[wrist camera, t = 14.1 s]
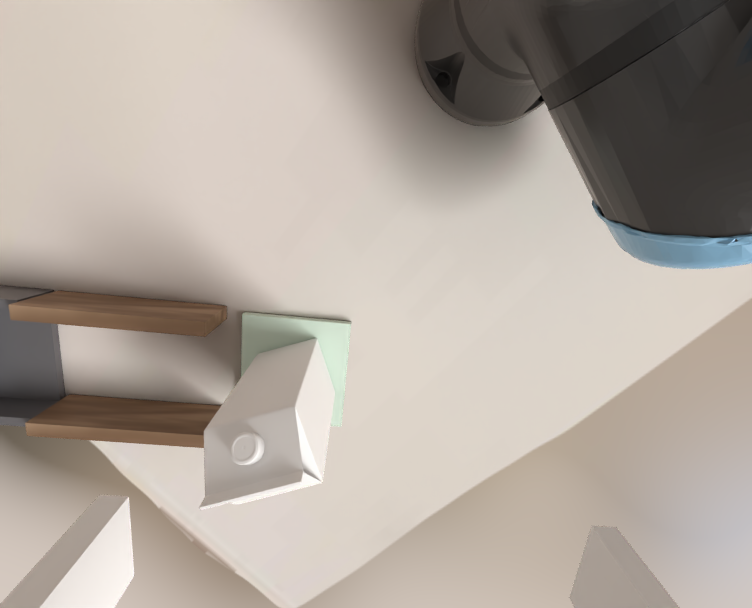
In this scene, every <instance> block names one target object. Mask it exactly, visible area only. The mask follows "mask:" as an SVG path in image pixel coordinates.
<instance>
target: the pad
mask: <svg viewBox="0 0 752 608" xmlns="http://www.w3.org/2000/svg"><path fill="white" fill-rule="evenodd" d="M350 330H351V321H340V320H329V319H318V318H307V317H296V316H285V315H274V314H263V313H252V312H244V313H243V314H242V347H241V377H242V376H243V374H244V373H245V371H246V370H247V368H248V367H249V366H250V364H251V363H252V361H253V360H254V358H255V357H256V356H257V354H259V353H262V352H266V351H270V350H273V349H277V348H281V347H285V346H288V345H292V344H296V343H299V342H303V341H307V340H310V339H315V338H317V339H318V342H319V345H320V348H321V351H322V354H323V357H324V360H325V363H326V366H327V369H328V372H329V375H330V378H331V381H332V384H333V387H334V390H335V398H334V405H333V412H332V419H331V426H339V427H341V425H342V415H343V404H344V394H345V383H346V372H347V362H348V351H349V341H350Z"/></svg>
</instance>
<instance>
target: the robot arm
mask: <svg viewBox="0 0 752 608" xmlns="http://www.w3.org/2000/svg"><path fill="white" fill-rule="evenodd" d="M415 55H416V61H417V66H418V70H419V73H420V76H421V78H422V81H423V83H424V85H425V87H426V89H427V91H428V92H429V94H430V95H431V97H432V98H433V99H434V101H435V102H436V103H437V104H438V105H439V106H440V107H441V108H442V109H443V110H444V111H446V112H447V113H448V114H450V115H451V116H453V117H454V118H456V119H458V120H460V121H463V122H465V123H468V124H472V125H477V126H497V125H503V124H507V123H510V122H513V121H515V120H517V119H519V118H521V117H523V116H525V115H527V114H529V113H530V112H532V111H534V110H535V109H537V108H538V107H540V106H541V105H542V104H543V103H546V105H547V107H548V111H549V113H550V115H551V117H552V119H553V121H554V123H555V125H556V127H557V129H558V131H559V133H560V135H561V137H562V139H563V141H564V143H565V145H566V147H567V149H568V151H569V153H570V155H571V157H572V159H573V161H574V163H575V165H576V167H577V169H578V171H579V173H580V175H581V177H582V179H583V181H584V183H585V185H586V187H587V189H588V191H589V193H590V195H591V197H592V199H593V201H592V205H593V207H594V210H595V212H596V213H597V215H598V216H599V217H600V218H601V219H602V220H603V221H604V222H605V223H606V225H607V226H608V228H609V230H610V232H611V233H612V235H613V237H614V239H615V240H616V242H617V243H618V245H619V246H620V247H621V248H622V249H623V250H624V251H626V252H628V253H629V254H631V255H632V256H633V257H635V258H637V259H638V260H640V261H643V262H646V263H649V264H653V265H657V266H662V267H669V268H678V269H711V268H724V267H732V266H739V265H745V264H750V263H752V0H423V1H422V4H421V7H420V11H419V14H418V18H417V22H416V29H415ZM133 577H134V565H133V550H132V537H131V521H130V507H129V497H128V496H112V495H99V496H98V497H97V498H96V499H95V500H94V501H93V503H92V504H91V505H90V506H89V507H88V508H87V509H86V510H85V511H84V512H83V514H82V515H81V516H80V517H79V518H78V519H77V520H76V522H75V523H73V525H72V526H71V527H70V528H69V529H68V530H67V531H66V532H65V534H63V536H62V537H61V538H60V539H59V540H58V541H57V542H56V543H55V544H54V545H53V547H52V548H51V549H50V550H49V551H48V552H47V553H46V554H45V556H44V557H43V558H42V559H41V560H40V561H39V562H38V563H37V564H36V565H35V566H34V568H33V569H32V570H31V571H30V572H29V573H28V574H27V575H26V576H25V577H24V579H23V580H22V581H21V582H20V583H19V584H18V585H17V586H16V587H15V588H14V590H13V591H12V592H11V593H10V594H9V595H8V596H7V597H6V598H5V599H4V601H3V602H2V603H1V604H0V608H115V606H116V604H117V603H118V601H119V600H120V598H121V596H122V595H123V593H124V591H125V590H126V588H127V586H128V585H129V583H130V582H131V580H132V578H133ZM570 600H571V602H572V604H573V606H574V608H679V606H678V605H677V604H676V602H675V601H674V600H673V599H672V597H671V596H670V595H669V594H668V592H667V591H666V590H665V588H664V587H663V586H662V585H661V583H660V582H659V581H658V580H657V578H656V577H655V576H654V574H653V573H652V572H651V571H650V569H649V568H648V567H647V565H646V564H645V563H644V562H643V560H642V559H641V558H640V557H639V555H638V554H637V553H636V552H635V550H634V549H633V548H632V546H631V545H630V544H629V543H628V541H627V540H626V539H625V537H624V536H623V535H622V534H621V532H620V531H619V530H618V528H617V527H605V526H591V529H590V532H589V535H588V539H587V542H586V545H585V548H584V552H583V555H582V558H581V562H580V565H579V568H578V571H577V574H576V578H575V581H574V584H573V587H572V591H571V594H570Z"/></svg>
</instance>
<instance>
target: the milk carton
mask: <svg viewBox="0 0 752 608" xmlns="http://www.w3.org/2000/svg"><path fill="white" fill-rule="evenodd" d="M334 398H335V390H334V387H333V384H332V381H331V378H330V375H329V372H328V369H327V366H326V363H325V360H324V357H323V354H322V351H321V348H320V345H319V342H318V339H317V338H315V339H310V340H307V341H303V342H299V343H296V344H292V345H288V346H285V347H281V348H277V349H273V350H270V351H266V352H262V353H259V354H257V356H256V357H255V358H254V360H253V361H252V363H251V364H250V366H249V367H248V368H247V370H246V371H245V373H244V374H243V376H242V377H241V378H240V380H239V381H238V383H237V384H236V386H235V387H234V388H233V390H232V391H231V393H230V394H229V396H228V397H227V398H226V400H225V401H224V403H223V404H222V406H221V407H220V408H219V410H218V411H217V413H216V414H215V416H214V417H213V418H212V420H211V421H210V423H209V424H208V426H207V427H206V429H205V430H204V468H205V498H204V500H203V502H202V503H201V505H200V507H199V509H200V510H204V509H208V508H211V507H215V506H219V505H223V504H227V503H231V504H236V505H238V504H242V503H246V502H250V501H254V500H258V499H262V498H266V497H270V496H273V495H277V494H281V493H285V492H289V491H293V490H297V489H301V488H305V487H308V486H312V485H316V484H320V483H323V476H324V469H325V461H326V454H327V447H328V440H329V433H330V426H331V419H332V412H333V405H334Z"/></svg>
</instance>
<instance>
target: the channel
mask: <svg viewBox="0 0 752 608" xmlns="http://www.w3.org/2000/svg"><path fill="white" fill-rule="evenodd" d="M9 312H10V319H11V320H17V321H29V322H41V323H52V324H64V325H75V326H87V327H99V328H110V329H122V330H133V331H145V332H157V333H168V334H180V335H191V336H203V337H206V336H207V335H208V334H209V333H210V332H211V331H213V330H214V329H215V328H216V327H217V326H219V325H220V324H221V323H222V322H223V321H225V320H226V319H227V306H222V305H211V304H200V303H189V302H178V301H167V300H156V299H145V298H134V297H123V296H112V295H101V294H90V293H80V292H69V291H55V292H52V293H48V294H44V295H41V296H37V297H34V298H30V299H27V300H23V301H20V302H16V303H12V304H9ZM220 407H221V406H218V405H205V404H192V403H179V402H165V401H152V400H139V399H125V398H112V397H99V396H86V395H72V394H69V395H68V396H66V397H64V398H63V399H61V400H60V401H58V402H57V403H55V404H54V405H52V406H51V407H49V408H47V409H46V410H44V411H43V412H41V413H40V414H38V415H37V416H35V417H34V418H32V419H30V420H29V421H27V422H26V423H25V425H26V432H27V436H37V437H52V438H66V439H81V440H95V441H110V442H125V443H139V444H154V445H169V446H183V447H198V448H204V430H205V429H206V427H207V426H208V424H209V423H210V421H211V420H212V418H213V417H214V416H215V414H216V413H217V411H218V410H219V408H220Z"/></svg>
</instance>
